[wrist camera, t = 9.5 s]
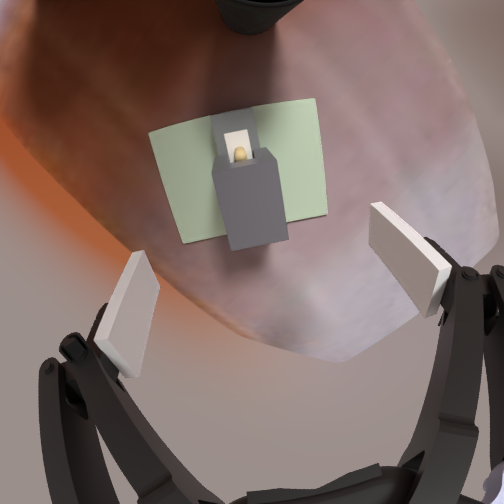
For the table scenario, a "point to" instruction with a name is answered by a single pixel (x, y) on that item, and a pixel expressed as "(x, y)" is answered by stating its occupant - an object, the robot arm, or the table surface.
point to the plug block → (250, 199)
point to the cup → (253, 14)
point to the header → (240, 148)
